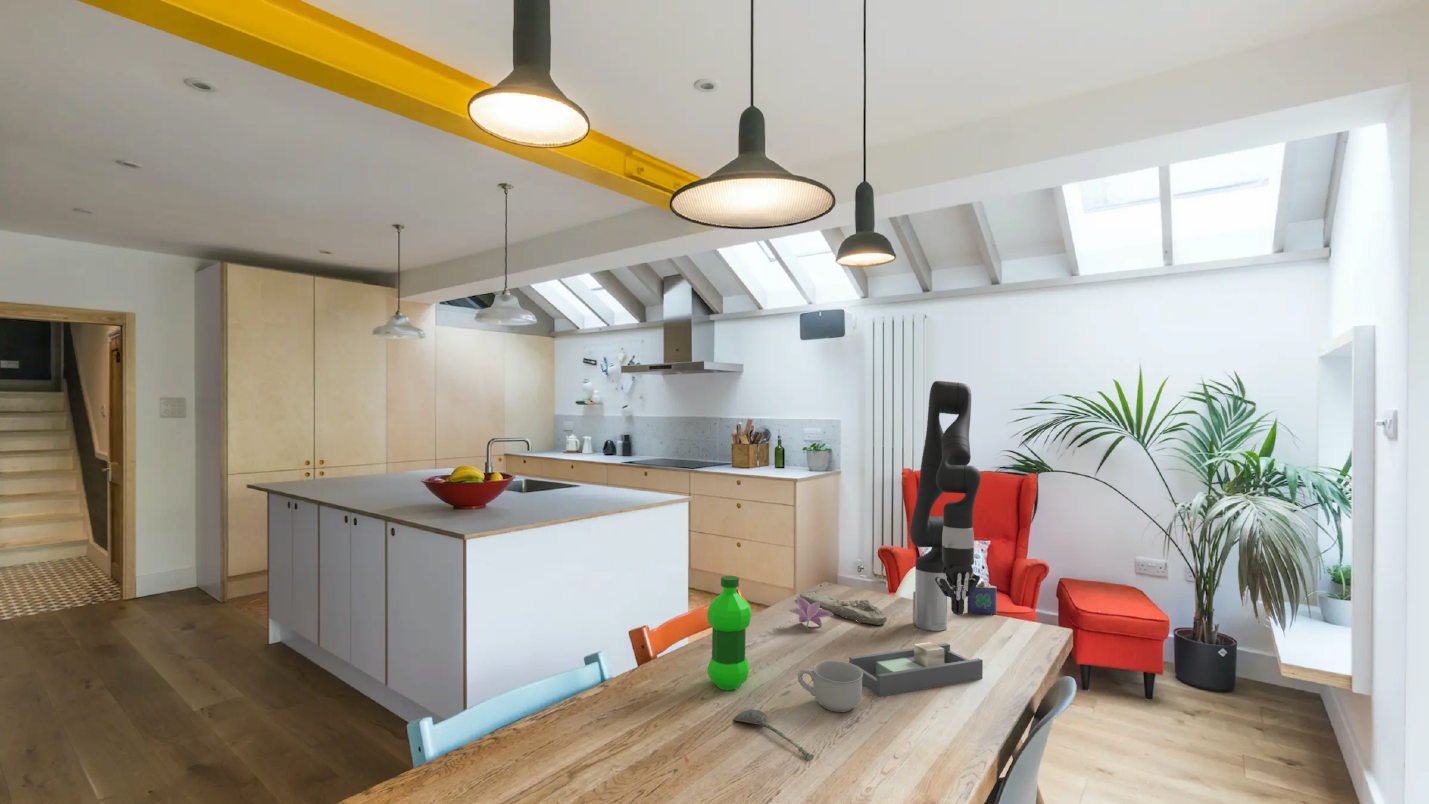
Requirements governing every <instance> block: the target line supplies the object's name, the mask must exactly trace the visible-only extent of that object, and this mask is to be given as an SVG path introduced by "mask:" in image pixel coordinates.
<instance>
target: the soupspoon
mask: <svg viewBox="0 0 1429 804" xmlns="http://www.w3.org/2000/svg"><path fill="white" fill-rule="evenodd" d="M768 720H769V717H768V714H767V713H765V712H764V711H761V710H759V709H746V710H743V711H741V712H739V713H738V714H737V715H736V716H734V718H733V720H732V721H737V722H742V723H743V722H744V723H748V724H755V725H759V726H762V727H765V728H766V729H769V730H770V731H772V732H774V733H775V734H777V735H779V736H780V737H781V738H783V739H784V740H786V741H787V742H789V743H790V744H791V745H792V746H794V747H795V748H797V749H798V752H799V753H800V752H801V754H802V755H803V756H804V758H805V761H806V762H808V761H812V760H813V759H814V757H815V756H814V753H810V752H808V751H807V750H806V749H804V748H803V746H800V744H798V743H797V742H795V741H794V740H793V739H791V738H790V737H789V736H787V735H785V734H784V733H782V732H781V731H780V730H779V729H777V728H776V727H774V726H772V725H770V724H768V723H767V722H768Z"/></svg>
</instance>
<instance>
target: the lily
mask: <svg viewBox="0 0 1429 804" xmlns="http://www.w3.org/2000/svg"><path fill="white" fill-rule="evenodd" d="M795 599H796V602H797V606H798V607H796V608H791V609H788V611H789V612H790V613H793V614H796V615H798V616H799V617H798V623H799V622H804V623H807V625H806V633H807V632H808V633H809V622H810V621H811V622H812V623H814V624H815V625H817V626H819V627H820V626H822V627H823V622H822V620H821V618H825V617H830V616H831V617H832V616H834V615H835V614H833V613H831V612H829V611H827V610H824V609H819V608H820V602H815V603H813V604H811V605H810V604H809V602H807V601H806V600H804V599H803V598H801V597H799V596H796V597H795ZM804 623H803V624H804Z"/></svg>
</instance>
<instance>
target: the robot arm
mask: <svg viewBox="0 0 1429 804" xmlns="http://www.w3.org/2000/svg"><path fill="white" fill-rule="evenodd" d="M971 412H972V391H971V388H970V386H969V385H968V384H966V383H963V382H956V381H955V382H954V381H944V380H935V381H934V382H932V384H931V387H930V391H929V396H928V411H927V420H926V431H925V433H926V434H925V439H924V446H923V451H922V457H921V462H920V463H921V464H920V469H919V470H920V471H919V480H918V488H917V489H918V491H917V494H916V495H917V496H916V499H915V504H914V509H913V512H912V517H911V522H910V530H909V532H910V533H909V535H910V540H911V543H912V544H913V546H915V547H918V548H931V549H930V550H929V552H927V553H926V554H923V555H920V556H919V557H917V558H916V559H915V583H914V584H915V585H914V586H915V587H914V589H915V590H914V591H913V593H912V623H913V624H914V625H915V626H916V627H917V628H919V629H921V630H926V631H931V632H939V631H941V632H943V631H945V630H946V629H947V627H948V626H947V625H948V598H950V600H951V603H950V604H951V609H950V610H951V611H952V614H954V615H957V616H960V615H961V616H962V615H964V611H965V599H966V598H968V597H967V596H971V594H972V592H973V591H974V589H975V587H976V585H977V584H978V585H979V582H980V581H981V576H980V575H977V574H975V572H974V568H973V565H974V564H975V563H974V562H975V535H974V507H975V502H976V501H975V500H976V497H977V495H978V491H979V489H980V485H981V479H982V477H981V473H980V471H979V469H978V468H977V467H976V466H974V465H969V464H970V461H971V458H972V456H971V445H970V426H971ZM940 414H946V415H947V414H949V415H956V416H957V417H956V419H955V420H954V421H953V422H952V423H951V424H950V425H949V426H948V427H947V428H946V429H945V431H943V428H942V425H941V422H940ZM943 493H946V494H948V493H949V494H964V496H963V498H961V499H960V500H957V501H949V502H947V503H945V504H944V505H943V514H942V516H939V515H938V516H936V515H935V516H934V515H933V516H931V515H930V514H931V511H932V509H933V508H934V507H933V506H934V505H935V504H936V501H938V499H939V498H940V496H942V494H943ZM968 588H969V589H968Z"/></svg>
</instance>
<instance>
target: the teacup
mask: <svg viewBox="0 0 1429 804" xmlns="http://www.w3.org/2000/svg"><path fill="white" fill-rule="evenodd" d="M812 669H813V670H812ZM812 669H810V668H809V667H804V668H801V669H800V670H799V671H798V673H797V680H798V683H799V684H800V686H801V687H802V688H803V689H805V690H806V691H808V692H809V693H810V694H811V696H812V697H814V698H815V700H816V701H817V702H818V703H819V704H820V705H821V706H822V707H823V708H825V710H829V711H831V712H835V713H844V712H845V713H846V712H849V711H851V710H852V709H853V708H855V707H857V706H858V705H859V703H860V702H861V699H862V693H863V691H862V690H863V685H862V677H863V672H862V670H861V669H860V668H859V667H857V666H855V665H853V664H851V663H849V661H848V662H847V661H845V660H844V661H843V660H836V659H835V660H822V661H820V662H817V663H816V664H815V665H814V666H813V668H812ZM805 674H808V675H809V676H810V678H811V681H812V682H813V683H812V685H813V686H812V685H811V686H810V685H809V684H807V683H806V682H805V680H803V676H804V675H805Z"/></svg>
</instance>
